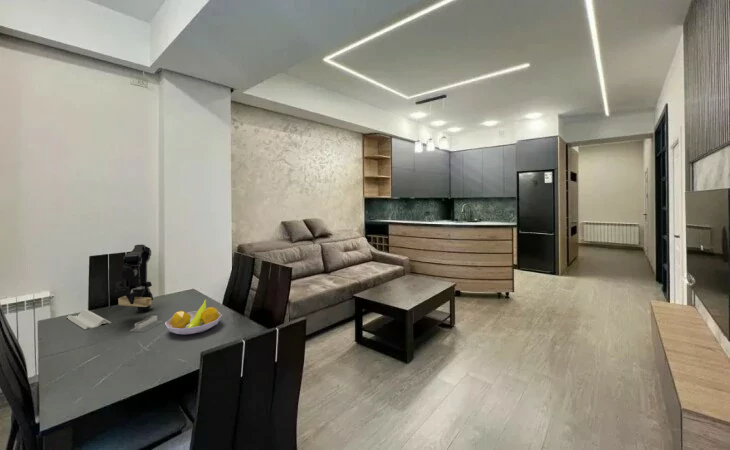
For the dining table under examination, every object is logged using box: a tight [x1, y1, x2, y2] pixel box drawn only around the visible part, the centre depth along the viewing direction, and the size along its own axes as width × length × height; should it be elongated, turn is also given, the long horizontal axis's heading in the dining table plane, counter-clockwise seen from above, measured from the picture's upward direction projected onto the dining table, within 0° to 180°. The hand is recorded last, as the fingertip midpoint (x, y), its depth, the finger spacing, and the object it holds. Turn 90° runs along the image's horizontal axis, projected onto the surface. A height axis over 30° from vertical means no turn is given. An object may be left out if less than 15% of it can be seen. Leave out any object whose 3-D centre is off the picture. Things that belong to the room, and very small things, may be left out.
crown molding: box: [66, 308, 112, 330], centre depth 178 cm, size 31×12×4 cm, turn 57°
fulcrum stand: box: [128, 315, 164, 333], centre depth 168 cm, size 14×8×4 cm, turn 175°
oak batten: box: [117, 295, 153, 307], centre depth 174 cm, size 4×18×4 cm, turn 79°
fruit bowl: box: [164, 299, 223, 336], centre depth 166 cm, size 28×27×11 cm
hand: (135, 302), depth 175 cm, fingers closed on oak batten, 4 cm apart
